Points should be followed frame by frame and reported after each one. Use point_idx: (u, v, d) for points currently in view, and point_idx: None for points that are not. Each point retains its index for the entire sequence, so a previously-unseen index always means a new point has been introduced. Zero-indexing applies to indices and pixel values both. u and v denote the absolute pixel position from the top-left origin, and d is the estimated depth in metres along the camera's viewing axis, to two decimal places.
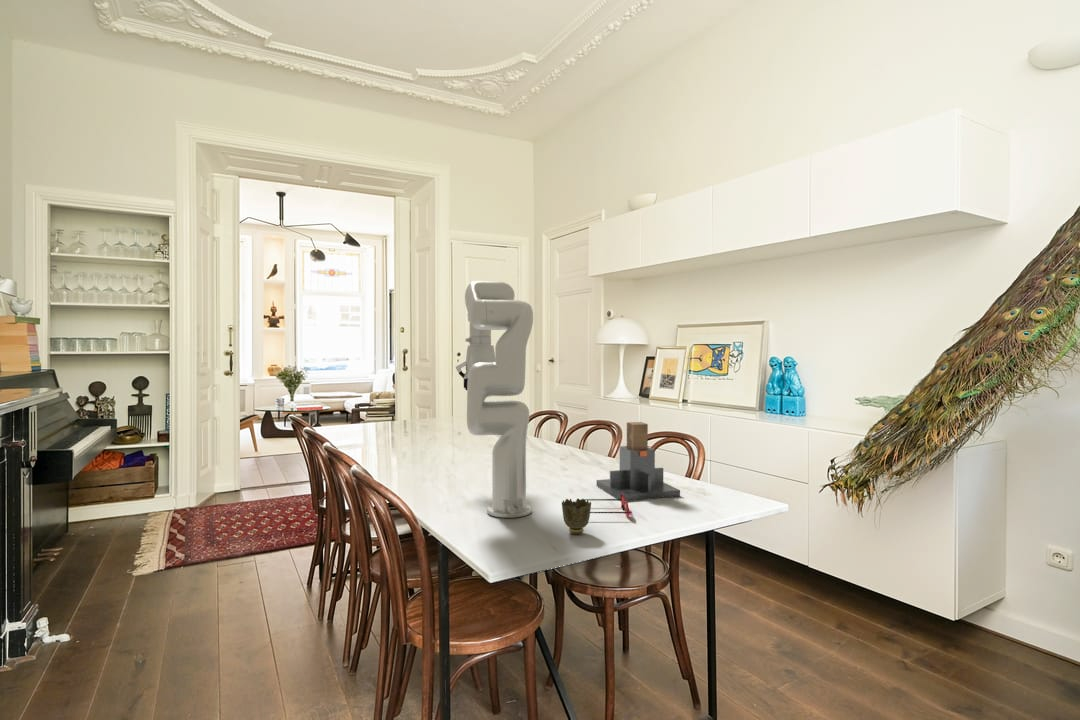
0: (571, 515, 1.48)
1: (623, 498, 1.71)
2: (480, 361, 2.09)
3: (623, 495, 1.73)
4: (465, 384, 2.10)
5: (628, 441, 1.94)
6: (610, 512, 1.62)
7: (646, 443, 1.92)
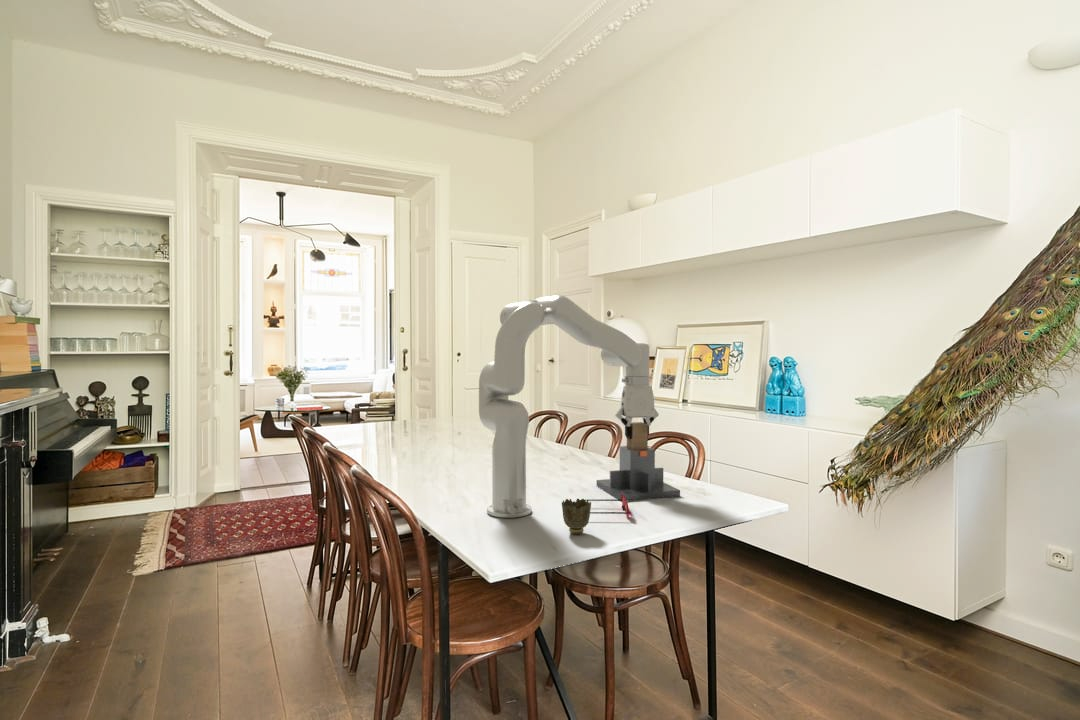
0: (571, 515, 1.48)
1: (624, 498, 1.71)
2: (639, 404, 1.90)
3: None
4: (628, 432, 1.92)
5: (628, 441, 1.94)
6: (610, 512, 1.62)
7: (646, 443, 1.92)
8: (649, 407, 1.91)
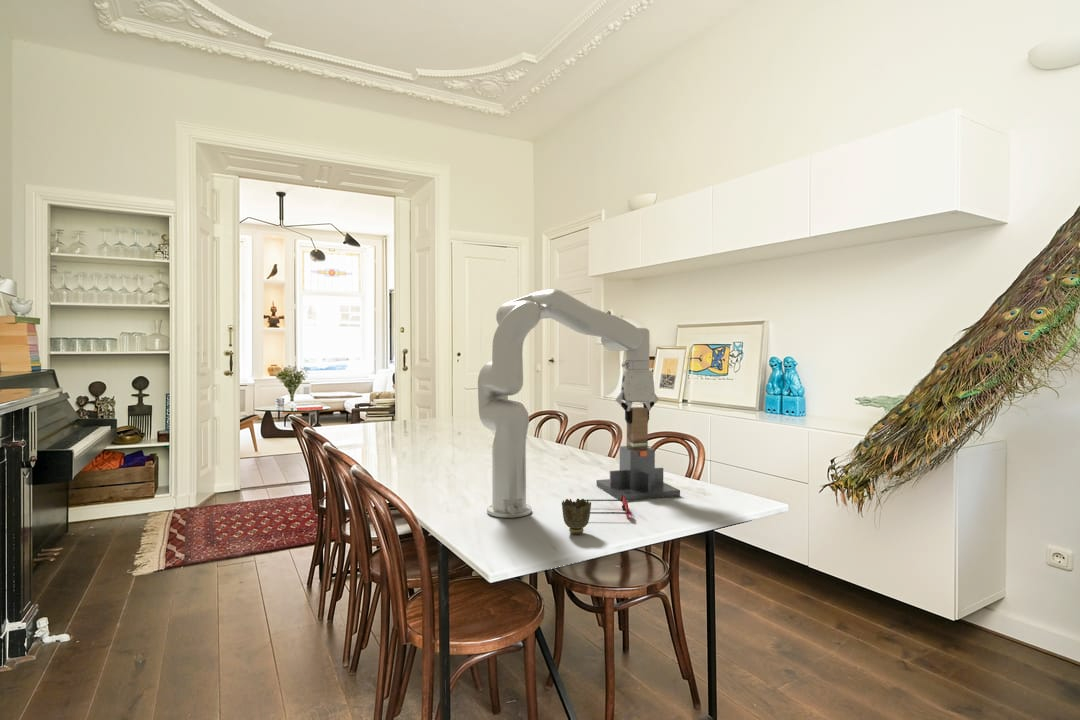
0: (571, 515, 1.48)
1: (624, 498, 1.71)
2: (639, 388, 1.90)
3: None
4: (628, 417, 1.91)
5: (628, 426, 1.94)
6: (610, 512, 1.62)
7: (646, 428, 1.91)
8: (649, 392, 1.91)
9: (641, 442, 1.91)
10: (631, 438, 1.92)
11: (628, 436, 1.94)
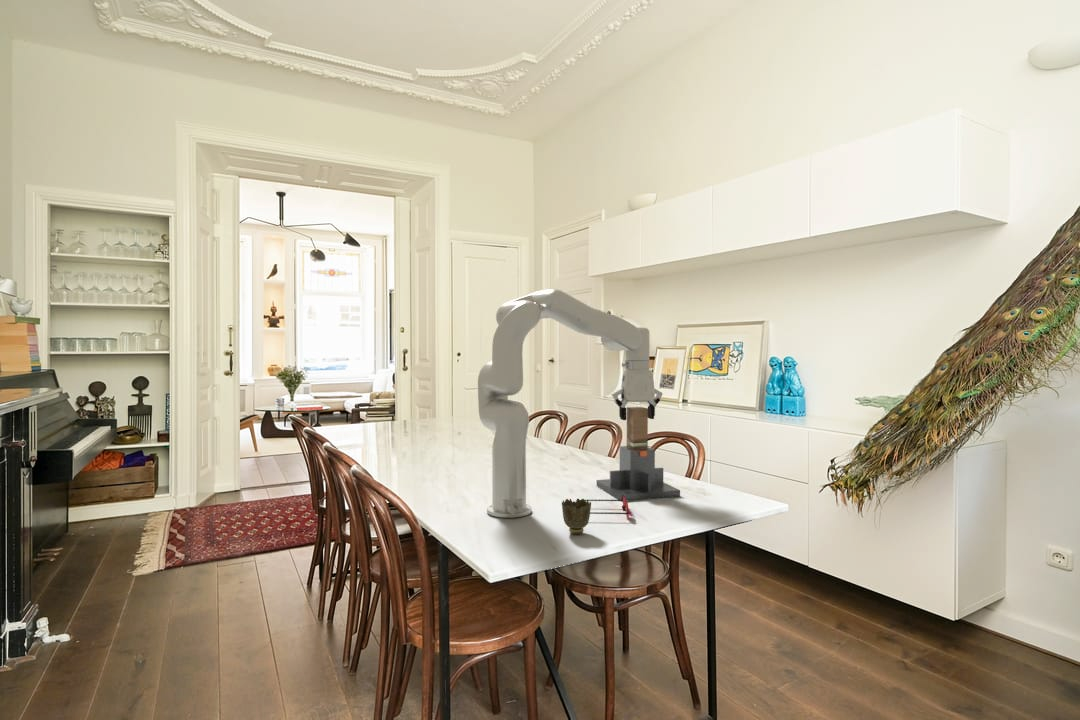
0: (571, 515, 1.48)
1: (624, 499, 1.70)
2: (639, 388, 1.90)
3: (624, 496, 1.72)
4: (622, 413, 1.91)
5: (628, 426, 1.94)
6: (610, 513, 1.62)
7: (646, 428, 1.91)
8: (649, 391, 1.91)
9: (641, 442, 1.91)
10: (631, 438, 1.92)
11: (628, 436, 1.94)
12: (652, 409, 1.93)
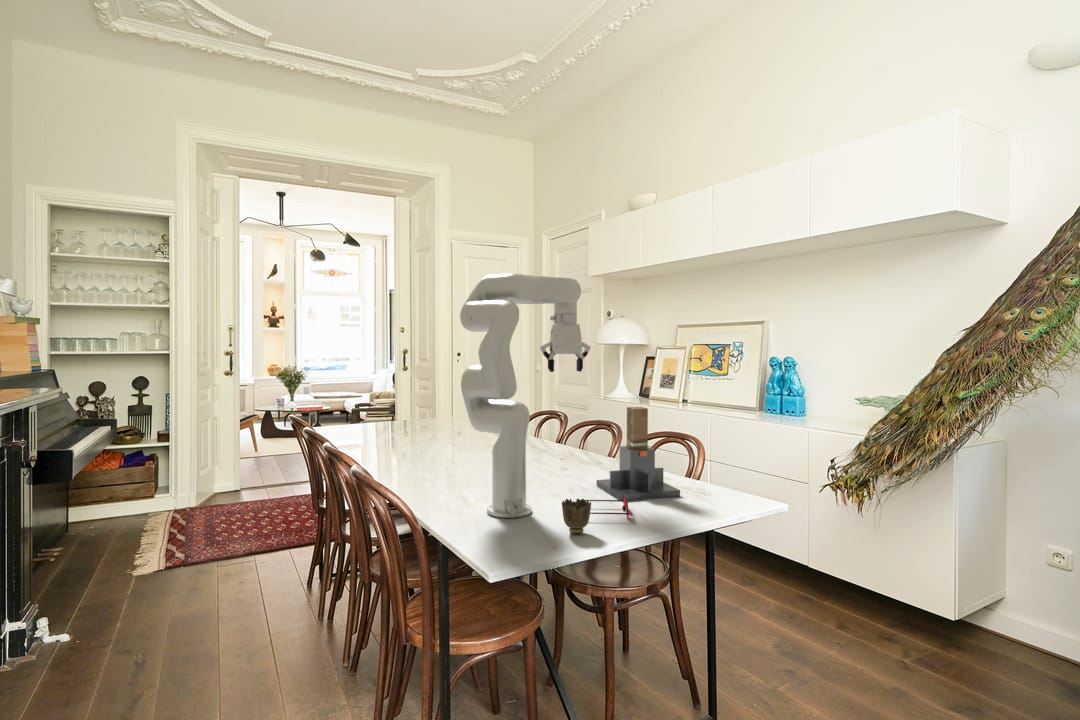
0: (571, 515, 1.48)
1: None
2: (566, 341, 1.97)
3: None
4: (550, 365, 1.97)
5: (628, 426, 1.94)
6: (609, 513, 1.61)
7: (646, 428, 1.91)
8: (576, 344, 1.98)
9: (641, 442, 1.91)
10: (631, 438, 1.92)
11: (628, 436, 1.94)
12: (580, 362, 2.00)
